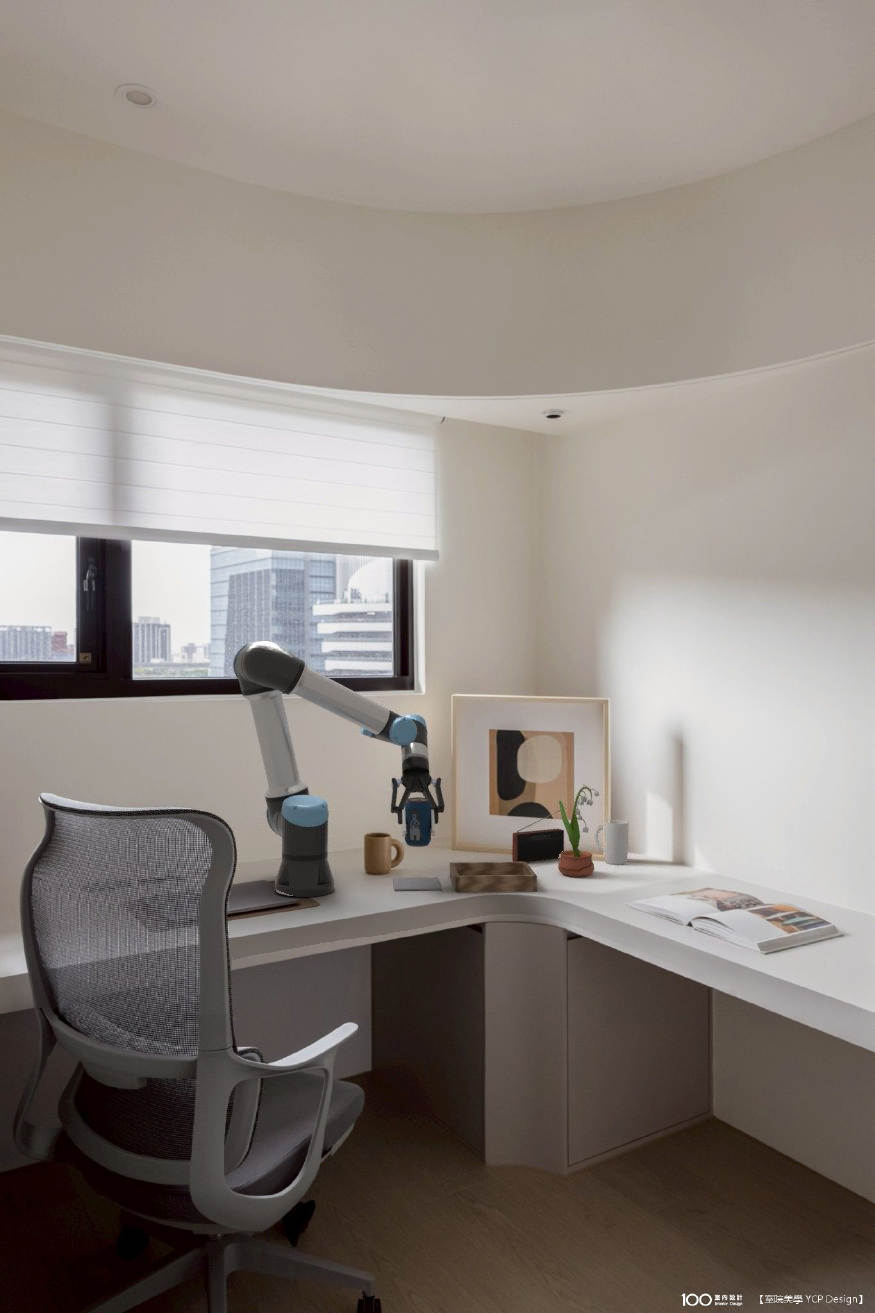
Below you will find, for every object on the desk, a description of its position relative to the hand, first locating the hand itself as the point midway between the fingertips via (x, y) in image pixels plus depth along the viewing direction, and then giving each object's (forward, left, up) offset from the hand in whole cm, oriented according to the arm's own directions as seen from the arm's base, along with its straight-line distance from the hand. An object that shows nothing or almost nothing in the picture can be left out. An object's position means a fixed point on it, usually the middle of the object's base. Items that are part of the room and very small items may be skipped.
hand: (418, 833), depth 236 cm
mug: (+59, +27, -14) cm, 66 cm away
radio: (+39, +31, -15) cm, 52 cm away
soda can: (0, +4, -4) cm, 5 cm away
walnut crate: (+20, +3, -14) cm, 25 cm away
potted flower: (+46, +13, -14) cm, 50 cm away
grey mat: (0, +3, -14) cm, 15 cm away
